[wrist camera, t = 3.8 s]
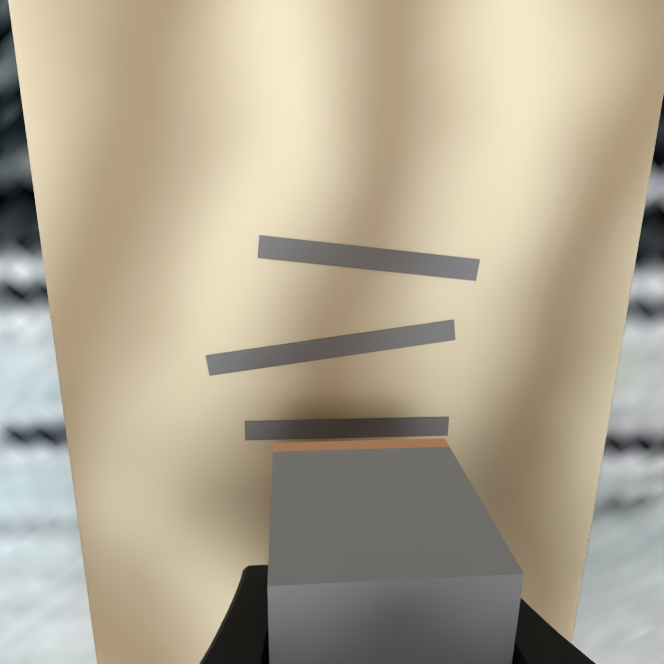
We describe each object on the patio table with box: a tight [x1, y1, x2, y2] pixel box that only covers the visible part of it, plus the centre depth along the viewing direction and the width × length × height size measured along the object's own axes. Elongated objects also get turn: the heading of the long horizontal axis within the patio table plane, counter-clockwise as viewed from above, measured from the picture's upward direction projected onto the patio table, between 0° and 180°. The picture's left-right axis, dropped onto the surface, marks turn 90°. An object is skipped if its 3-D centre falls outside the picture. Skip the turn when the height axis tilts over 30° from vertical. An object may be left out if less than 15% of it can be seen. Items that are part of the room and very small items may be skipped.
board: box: [8, 0, 664, 664], centre depth 17 cm, size 16×26×2 cm, turn 179°
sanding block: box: [267, 438, 524, 664], centre depth 12 cm, size 4×7×4 cm, turn 179°
